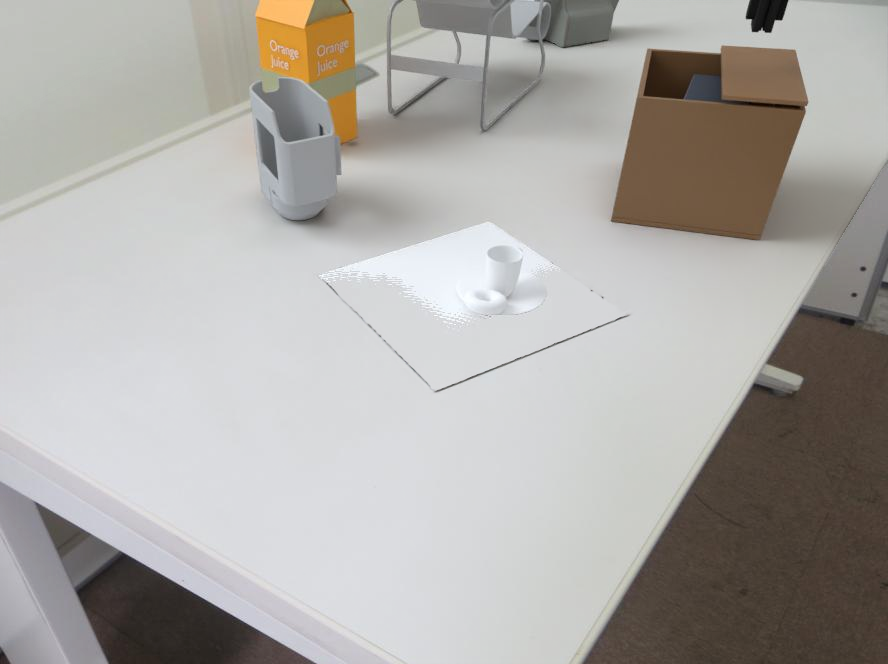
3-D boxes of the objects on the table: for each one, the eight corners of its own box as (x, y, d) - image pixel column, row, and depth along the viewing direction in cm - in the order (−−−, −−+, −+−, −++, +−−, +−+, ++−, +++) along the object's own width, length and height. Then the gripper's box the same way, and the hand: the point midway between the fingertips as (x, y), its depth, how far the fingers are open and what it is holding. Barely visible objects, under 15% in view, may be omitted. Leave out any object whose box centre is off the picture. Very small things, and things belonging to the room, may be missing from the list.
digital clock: (607, 26, 129) (620, -45, 122) (631, 41, 122) (646, -33, 115) (515, 34, 127) (523, -38, 120) (534, 50, 120) (543, -25, 113)
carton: (753, 176, 84) (793, 57, 76) (759, 240, 74) (806, 111, 66) (623, 162, 88) (647, 48, 80) (610, 221, 78) (637, 97, 69)
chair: (385, 120, 100) (384, -50, 87) (460, 64, 116) (469, -87, 103) (479, 137, 95) (494, -42, 82) (545, 75, 111) (566, -82, 98)
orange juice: (311, 120, 101) (300, -52, 88) (358, 136, 96) (353, -43, 83) (266, 137, 97) (247, -40, 84) (313, 156, 92) (300, -29, 79)
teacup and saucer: (484, 332, 64) (488, 291, 61) (431, 289, 69) (433, 249, 66) (565, 302, 67) (572, 261, 64) (508, 262, 72) (513, 223, 69)
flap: (794, 53, 76) (795, 49, 75) (807, 106, 65) (808, 101, 65) (720, 49, 78) (721, 45, 77) (721, 99, 67) (722, 95, 67)
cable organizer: (289, 237, 77) (278, 120, 69) (252, 189, 86) (238, 80, 78) (349, 223, 79) (345, 107, 71) (307, 177, 88) (299, 69, 80)
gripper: (940, -242, 58) (847, 20, 70) (727, -231, 62) (675, 14, 74) (962, -237, 52) (858, 45, 64) (728, -226, 57) (672, 36, 69)
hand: (760, 28), depth 69 cm, fingers closed
